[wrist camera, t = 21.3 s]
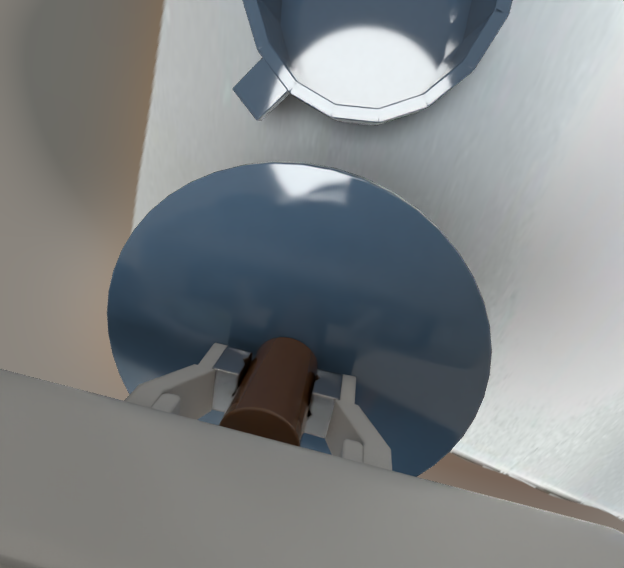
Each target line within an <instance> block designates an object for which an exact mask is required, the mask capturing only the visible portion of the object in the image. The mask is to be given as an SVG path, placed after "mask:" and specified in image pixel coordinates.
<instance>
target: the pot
mask: <svg viewBox="0 0 624 568" xmlns="http://www.w3.org/2000/svg"><path fill="white" fill-rule="evenodd" d="M242 1H243V4H244V7H245V11H246V14H247V17H248V21H249V24H250V27H251V31H252V34H253V37H254V41H255V44H256V47H257V50H258V52H259V53H260V55H261V56H262V58H261V60H260V61H259V62H258V63H257V64H256V65H255V66H254V67H253V68H252V69H251V70H250V71H249V72H248V73H247V74H246V75H245V76H244V77H243V78H242V79H241V80H240V81H239V82H238V83H237V84H236V85H235V86H234V87H233V91H234V92H235V93H236V94H237V96H238V97H239V98H240V100H241V101H242V102H243V103H244V105H245V106H246V107H247V109H248V110H249V111H250V113H251V114H252V115H253V116H254V118H255V119H256V120H257V121H262V120H263V119H264V118H265V117H266V116H267V115H268V114H269V113H270V112H271V111H272V110H273V109H274V108H275V107H276V106H277V105H278V104H280V103H281V102H282V101H283V100H284V99H285V98H286V97H287V96H288V95H289V94H291V95H293V96H295V97H296V98H298V99H300V100H301V101H303V102H305V103H306V104H308V105H310V106H311V107H313V108H315V109H317V110H318V111H320V112H322V113H323V114H325V115H327V116H328V117H330V118H332V119H334V120H336V121H339V122H346V123H355V124H364V125H374V126H375V125H380V124H383V123H386V122H389V121H393V120H396V119H399V118H402V117H405V116H408V115H412V114H414V113H417V112H419V111H421V110H423V109H426V108H428V107H429V106H431V105H432V104H433V103H434V102H436V101H437V100H438V99H439V98H441V97H442V96H443V95H444V94H446V93H447V92H448V91H449V90H450V89H452V88H453V87H454V86H455V85H457V84H458V83H459V82H460V81H462V80H463V79H464V78H465V77H467V76H468V75H469V74H470V73H472V71H473V70H475V68H476V66H477V65H478V63H479V62H480V60H481V58H482V57H483V55H484V54H485V52H486V51H487V49H488V47H489V46H490V44H491V43H492V41H493V39H494V38H495V36H496V35H497V33H498V31H499V30H500V28H501V27H502V25H503V24H504V22H505V20H506V19H507V17H508V15H509V13H510V9H511V5H512V1H513V0H242Z"/></svg>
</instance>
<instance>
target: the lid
mask: <svg viewBox="0 0 624 568" xmlns="http://www.w3.org/2000/svg"><path fill="white" fill-rule="evenodd" d="M107 320H108V334H109V339H110V344H111V349H112V353H113V357H114V360H115V363H116V366H117V369H118V371H119V374H120V376H121V378H122V380H123V383H124V385H125V387H126V389H127V391H128V393H129V394H131V393H132V392H133V391H134V390H135V388H136V387H137V386H138V385H139V384H142V383H145V382H147V381H150V380H153V379H155V378H158V377H161V376H164V375H166V374H169V373H172V372H175V371H177V370H180V369H183V368H185V367H188V366H191V365H194V364H196V365H198V364H199V363H200V361H201V360H202V359H203V358H204V356H205V355H206V354H207V352H208V351H209V350H210V348H211V347H212V346H213V344H215V343H219V344H223V345H227V346H231V347H235V348H239V349H242V350H246V351H250V352H252V353H253V356H252V362H251V364H250V366H249V367H248V369H247V371H246V373H245V375H244V377H243V379H242V381H241V383H240V385H239V387H238V388H237V390H236V392H235V394H234V396H233V398H232V400H231V402H230V404H229V406H228V408H227V409H226V411H225V412H220V411H216V410H212V409H211V411H210V412H209V413H207V414H205V415H204V416H202V417H201V418H199V419H197V420H199V421H203V422H207V423H211V424H214V425H218V426H222V427H226V428H230V429H234V430H238V431H241V432H245V433H249V434H253V435H257V436H261V437H264V438H268V439H272V440H276V441H280V442H284V443H288V444H291V445H295V446H299V447H303V448H307V449H311V450H315V451H318V452H322V453H326V454H330V455H332V454H331V452H330V450H329V447H328V445H327V443H326V441H325V439H324V438H321V437H317V436H314V435H310V434H307V433H304V430H305V426H306V421H307V417H308V412H309V404H310V400H311V395H312V391H313V386H314V382H315V378H316V374H317V370H318V369H322V370H326V371H330V372H335V373H339V374H345V375H350V376H354V377H356V389H355V404H356V405H358V406H359V407H360V408H361V410H362V411H363V412H364V414H365V415H366V416H367V418H368V419H369V420H370V422H371V423H372V425H373V426H374V427H375V429H376V430H377V431H378V433H379V434H380V435H381V437H382V438H383V439H384V441H385V442H386V443H387V445H388V446H389V447H390V449H391V459H392V471H395V472H399V473H403V474H407V475H411V476H414V477H417V476H419V475H420V474H422V473H423V472H425V471H426V470H428V469H429V468H431V467H432V466H434V465H435V464H436V463H437V462H438V461H439V460H441V459H442V458H443V457H444V456H445V455H446V454H447V453H449V452H450V451H451V450H452V448H453V447H454V446H455V445H456V444H457V443H458V441H459V440H460V439H461V438H462V437H463V436H464V434H465V433H466V431H467V429H468V428H469V426H470V425H471V423H472V422H473V420H474V418H475V417H476V414H477V412H478V410H479V407H480V405H481V403H482V401H483V398H484V395H485V391H486V387H487V383H488V379H489V376H490V366H491V355H492V347H491V333H490V325H489V320H488V316H487V312H486V308H485V304H484V301H483V298H482V296H481V293H480V291H479V288H478V286H477V284H476V281H475V279H474V277H473V275H472V273H471V272H470V270H469V268H468V267H467V265H466V263H465V262H464V260H463V258H462V257H461V255H460V253H459V252H458V251H457V249H456V248H455V247H454V246H453V244H452V243H451V242H450V241H449V240H448V238H447V237H446V236H445V235H444V234H443V232H442V231H441V230H440V229H439V228H438V227H437V226H436V225H435V224H434V223H433V222H432V221H431V220H430V219H429V218H427V217H426V216H425V215H424V214H423V213H422V212H421V211H420V210H419V209H417V208H416V207H415V206H413V205H412V204H410V203H409V202H407V201H406V200H404V199H403V198H402V197H400V196H399V195H397V194H396V193H394V192H393V191H391V190H389V189H387V188H385V187H383V186H381V185H379V184H377V183H375V182H373V181H371V180H369V179H367V178H365V177H362V176H359V175H356V174H353V173H349V172H346V171H343V170H340V169H337V168H333V167H328V166H323V165H317V164H312V163H306V162H286V161H272V162H262V163H251V164H245V165H241V166H237V167H233V168H229V169H225V170H221V171H217V172H214V173H212V174H209V175H207V176H204V177H202V178H199V179H197V180H195V181H192V182H190V183H188V184H187V185H185V186H183V187H182V188H180V189H178V190H177V191H175V192H174V193H172V194H170V195H169V196H167V197H166V198H165V199H164V200H163V201H161V202H160V203H159V204H158V205H157V206H156V207H154V208H153V209H152V210H151V211H150V212H149V213H148V214H147V215H146V216H145V217H144V219H143V220H142V221H141V222H140V223H139V224H138V226H137V227H136V228H135V229H134V231H133V232H132V234H131V236H130V237H129V239H128V240H127V242H126V244H125V246H124V247H123V249H122V251H121V253H120V256H119V258H118V261H117V263H116V266H115V268H114V270H113V275H112V279H111V284H110V288H109V294H108V306H107Z"/></svg>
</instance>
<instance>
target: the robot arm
mask: <svg viewBox="0 0 624 568" xmlns="http://www.w3.org/2000/svg"><path fill="white" fill-rule="evenodd" d="M252 356H253V353H252V352H250V351H246V350H242V349H239V348H235V347H231V346H227V345H223V344H219V343H215V344H213V346H212V347H211V348H210V350H209V351H208V352H207V354H206V355H205V356H204V358H203V359H202V360H201V361H200V363H199V364H198V365H196V364H194V365H191V366H188V367H185V368H183V369H180V370H177V371H175V372H172V373H169V374H166V375H164V376H161V377H158V378H155V379H153V380H150V381H147V382H145V383H142V384H139V385H138V386H137V387H136V388H135V390H134V391H133V392H132V393H131V394H130V395H129V396H128V397H127V398H126V399H125V400H124V401H122V400H118V399H115V398H111V397H107V396H103V395H99V394H95V393H91V392H88V391H84V390H79V389H76V388H72V387H68V386H65V385H61V384H57V383H53V382H49V381H45V380H41V379H38V378H34V377H30V376H26V375H22V374H18V373H14V372H10V371H7V370H2V369H0V568H624V533H622V532H620V531H618V530H616V529H613V528H610V527H607V526H603V525H599V524H595V523H592V522H588V521H584V520H580V519H576V518H572V517H569V516H565V515H560V514H557V513H552V512H549V511H545V510H541V509H537V508H533V507H530V506H526V505H522V504H518V503H514V502H510V501H506V500H502V499H499V498H495V497H491V496H487V495H483V494H479V493H476V492H472V491H468V490H464V489H460V488H457V487H453V486H449V485H445V484H441V483H437V482H434V481H430V480H426V479H422V478H418V477H414V476H411V475H407V474H403V473H399V472H395V471H392V459H391V449H390V447H389V446H388V445H387V443H386V442H385V441H384V439H383V438H382V437H381V435H380V434H379V433H378V431H377V430H376V429H375V427H374V426H373V425H372V423H371V422H370V420H369V419H368V418H367V416H366V415H365V414H364V412H363V411H362V410H361V408H360V407H359V406H358V405H356V404H355V389H356V377H354V376H350V375H345V374H339V373H335V372H330V371H326V370H322V369H318V370H317V374H316V378H315V382H314V386H313V391H312V395H311V400H310V404H309V412H308V417H307V421H306V426H305V430H304V433H307V434H310V435H314V436H317V437H321V438H324V439H325V441H326V443H327V445H328V447H329V450H330V452H331V454H332V455H330V454H326V453H322V452H318V451H315V450H311V449H307V448H303V447H299V446H295V445H291V444H288V443H284V442H280V441H276V440H272V439H268V438H264V437H261V436H257V435H253V434H249V433H245V432H241V431H238V430H234V429H230V428H226V427H222V426H218V425H214V424H211V423H207V422H203V421H199V420H197V419H199V418H201V417H202V416H204V415H205V414H207V413H209V412H210V411H211V409H212V410H216V411H220V412H225V411H226V409H227V408H228V406H229V404H230V402H231V400H232V398H233V396H234V394H235V392H236V390H237V388H238V387H239V385H240V383H241V381H242V379H243V377H244V375H245V373H246V371H247V369H248V367H249V366H250V364H251V362H252Z"/></svg>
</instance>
